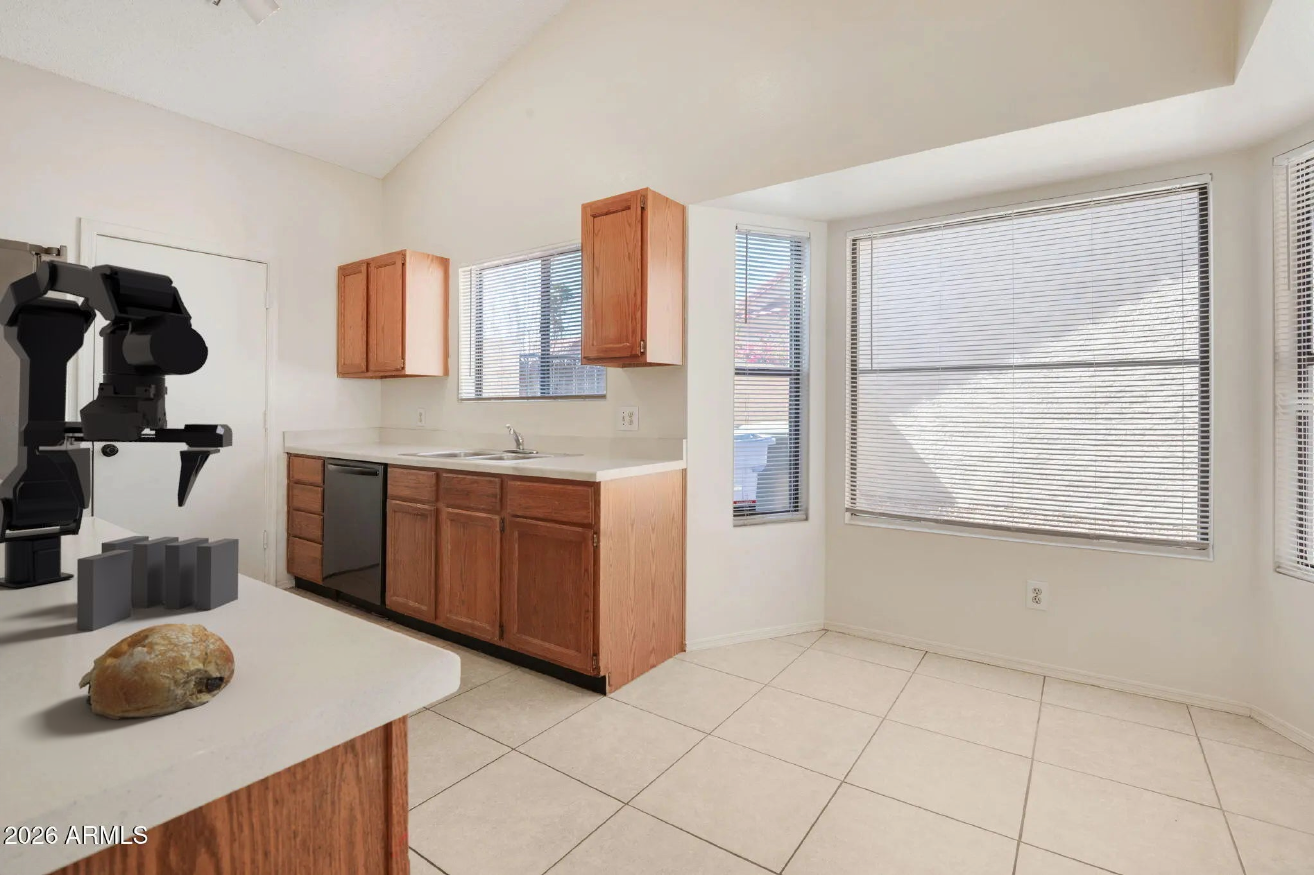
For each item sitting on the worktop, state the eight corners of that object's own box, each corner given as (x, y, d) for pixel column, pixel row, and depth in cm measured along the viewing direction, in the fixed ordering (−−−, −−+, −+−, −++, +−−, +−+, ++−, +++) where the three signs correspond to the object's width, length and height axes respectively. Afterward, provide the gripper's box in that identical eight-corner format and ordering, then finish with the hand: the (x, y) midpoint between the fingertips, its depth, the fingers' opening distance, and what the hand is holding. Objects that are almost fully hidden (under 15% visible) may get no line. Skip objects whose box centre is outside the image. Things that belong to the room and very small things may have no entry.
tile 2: (101, 606, 79) (101, 543, 79) (135, 595, 84) (135, 535, 84) (115, 607, 79) (115, 543, 79) (148, 596, 84) (148, 536, 84)
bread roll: (148, 770, 50) (191, 681, 50) (34, 711, 50) (76, 622, 50) (234, 712, 60) (271, 638, 60) (139, 663, 60) (175, 589, 60)
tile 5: (196, 609, 79) (196, 545, 78) (224, 598, 84) (225, 538, 83) (210, 610, 79) (211, 546, 78) (237, 599, 84) (238, 538, 83)
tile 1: (77, 630, 70) (77, 559, 70) (116, 616, 75) (116, 550, 75) (93, 631, 70) (93, 559, 70) (131, 617, 75) (131, 550, 75)
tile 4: (164, 608, 79) (165, 544, 78) (194, 597, 84) (195, 537, 83) (178, 609, 79) (179, 545, 78) (208, 598, 84) (208, 538, 83)
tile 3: (132, 607, 79) (133, 544, 78) (164, 596, 84) (165, 536, 83) (147, 608, 79) (147, 544, 78) (178, 597, 84) (178, 537, 83)
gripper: (-10, 367, 64) (-10, 521, 64) (211, 376, 71) (210, 515, 71) (45, 373, 74) (45, 506, 74) (234, 381, 81) (232, 502, 82)
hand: (134, 507), depth 75 cm, fingers open, 9 cm apart
